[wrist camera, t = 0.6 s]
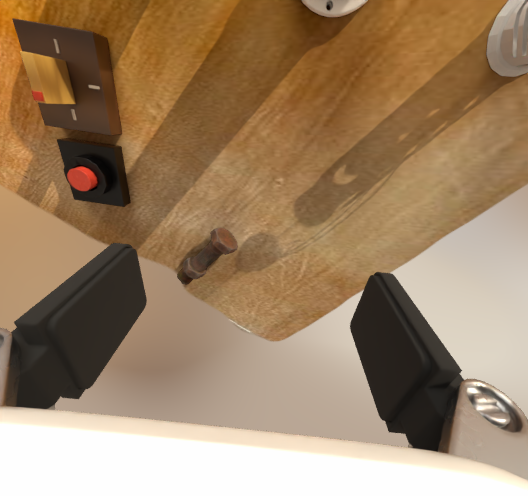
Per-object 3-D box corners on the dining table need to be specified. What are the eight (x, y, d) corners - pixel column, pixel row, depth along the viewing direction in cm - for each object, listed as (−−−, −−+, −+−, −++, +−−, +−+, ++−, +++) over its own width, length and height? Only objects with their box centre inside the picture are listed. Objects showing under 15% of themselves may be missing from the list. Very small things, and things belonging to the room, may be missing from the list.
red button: (72, 164, 38) (64, 166, 36) (95, 168, 38) (87, 170, 36) (78, 186, 39) (70, 189, 38) (100, 189, 40) (93, 192, 38)
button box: (67, 138, 39) (46, 140, 36) (121, 146, 39) (106, 149, 36) (82, 195, 44) (66, 202, 41) (130, 202, 44) (118, 210, 41)
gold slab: (55, 59, 31) (17, 50, 27) (65, 60, 31) (29, 52, 27) (66, 102, 34) (33, 101, 29) (76, 104, 34) (44, 103, 29)
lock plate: (33, 25, 32) (10, 17, 29) (107, 37, 32) (91, 31, 29) (60, 124, 38) (43, 125, 35) (122, 133, 38) (110, 135, 36)
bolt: (186, 266, 54) (228, 226, 47) (198, 284, 53) (242, 246, 47) (166, 272, 48) (210, 228, 42) (178, 292, 48) (225, 251, 41)
